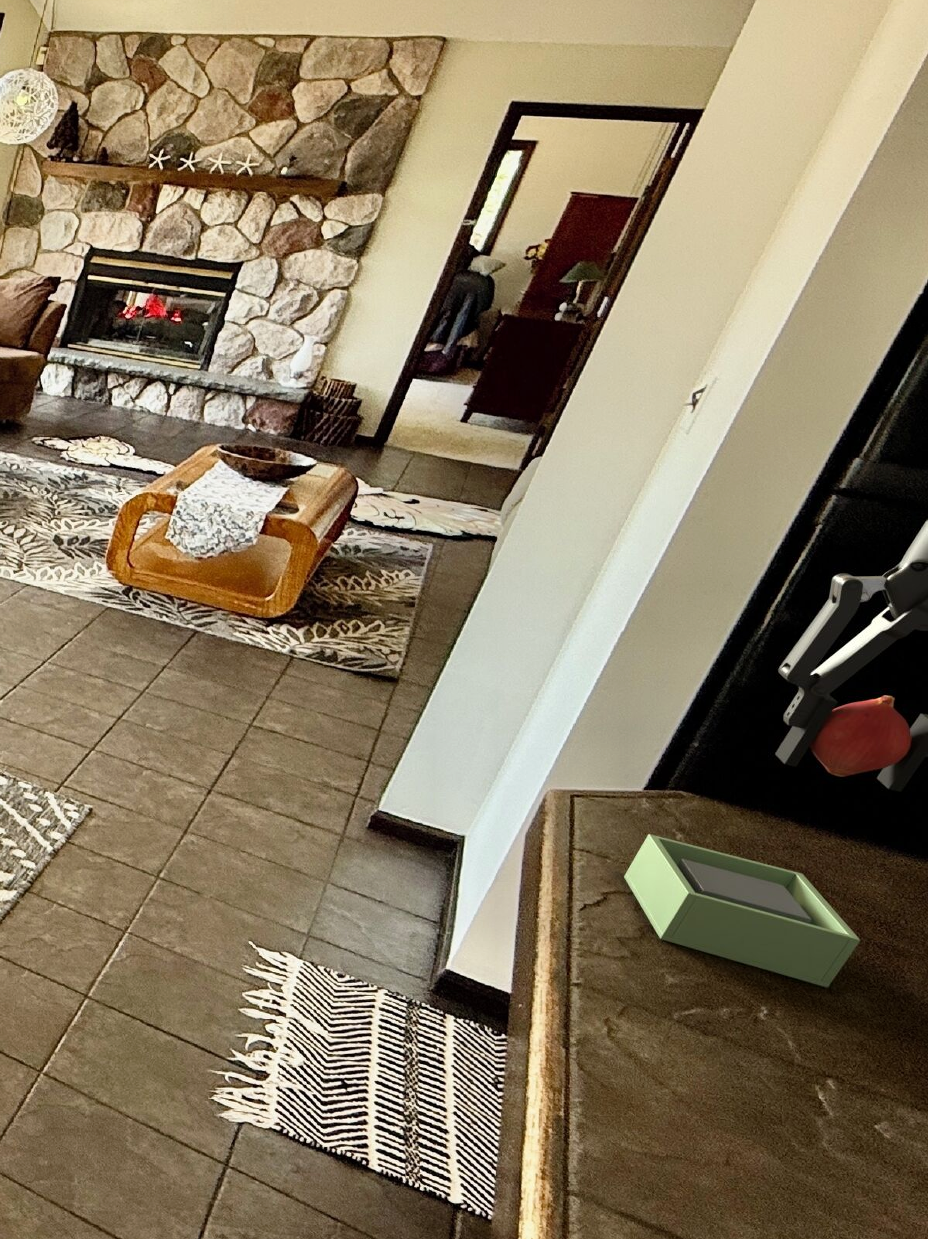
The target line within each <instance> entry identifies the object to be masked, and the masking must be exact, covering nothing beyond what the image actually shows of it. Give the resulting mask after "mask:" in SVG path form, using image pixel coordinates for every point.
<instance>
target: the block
mask: <svg viewBox="0 0 928 1239" xmlns="http://www.w3.org/2000/svg"><path fill="white" fill-rule="evenodd" d="M677 867H678V868H679V870H680V871H681V873H682V874H683V876H684V877H685V878H686V880H687V881H688V883H689V884H690V886H691V887H692V889H693V890H694V892H695V893H698V894H702V895H705V896H709V897H713V898H716V899H720V900H724V901H727V902H731V903H735V904H738V905H742V906H746V907H749V908H753V909H757V910H760V911H764V912H767V913H771V914H775V915H778V916H782V917H786V918H789V919H793V920H797V921H800V922H804V923H808V924H809V923H810V922H811V918H810V917H809V916H808V915H807V914H806V912H805V911H804V910H803V909H802V908H801V906H800V905H799V904H798V903H797V901H796V900H795V899H794V898H793V897H792V895H791V894H790V893H789V892H788V891H787V889H786V888H785V887H784V886H783V885H780V884H776V883H773V882H769V881H765V880H761V879H757V878H754V877H750V876H746V875H742V874H739V873H735V872H731V871H727V870H723V869H720V868H716V867H712V866H708V865H704V864H701V863H697V862H693V861H689V860H686V859H681V860H680V862H679V864H678V865H677Z"/></svg>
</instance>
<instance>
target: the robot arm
mask: <svg viewBox="0 0 928 1239" xmlns="http://www.w3.org/2000/svg"><path fill="white" fill-rule="evenodd" d="M879 591H882V593H883V596H884V598H885V601H886V604H887V607H886V608H885V609H884V610H882V611H881V612H880V613H879V614H877V615H876V616H875V617H874V618H873V619H872V620H871V623H870V624H869V625H868V626H867V627H865V628H864V629H863V630H862V631H861V632H860V633H858V634H857V635H856V636H854V637H853V638H852V639H851V640H850V641H848V642H847V643H846V644H845V645H844V646H843V647H841V648H840V649H838V650H837V651H836V652H835V653H834V654H832V655H831V656H830V657H829V658H828V659H826V660H825V661H824V662H823V663H822V664H820V663H821V661H822V659H823V658H824V657H825V655H826V654H827V653H828V651H829V650H830V649H831V647H832V646H833V644H834V643H835V641H836V640H837V639H838V638H839V636H840V635H841V633H842V632H843V631H844V630H845V628H846V627H847V626H848V624H849V623H850V622H851V620H852V618H853V617H854V616H855V614H856V613H857V611H858V609H859V607H860V604H861V603H864V602H868V601H869V600H871V598H872V597H873V595H874V594H876V593H877V592H879ZM914 630H916V631H922V632H923V631H924V632H926V631H927V632H928V519H926V521H924V524H923V525H922V526H921V529H920V530H919V531H918V533H917V534H916V536H915V538H914V540H913V541H912V543H911V544H910V546H909V547H908V549H907V550H906V552H905V554H904V555H903V557H902V559H901V561H900V562H899V563H898V564H897V565H896V566H895V567H893V568H891V569H889V570H888V571H886V572H885V573H884V574H883V575H878V576H877V575H875V576H853V575H851V574H849V573H846V572H844V573H843V572H841V573H838V574H836V575H834V576H833V577H832V579H831V583H830V589H829V596H828V599H827V601H826V602H825V603H824V604H823V606H822V608H821V609H820V610H819V612H818V613H817V615H816V616H815V617H814V619H813V620H812V622H810V624H809V626H808V627H807V628H806V629H805V631H804V633H802V635H801V637H800V638H799V640H798V641H797V642H796V643H795V645H794V646H793V648H792V649H791V651H789V653H788V655H787V656H786V657H785V659H784V660H783V661H782V663H781V665H780V666H779V668H778V670H777V671H778V674H780V675H781V676H782V678H784V679H785V680H786V681H787V682H788V683H790V684H792V685H794V686H797V687H798V691H797V693H796V695H795V696H794V697H793V699H792V701H791V703H790V704H789V705H788V707H787V709H786V710H785V712H784V713H783V722H784V723H785V724H786V725H787V726H789V727H791V728H790V730H789V731H788V733H787V734H786V736H785V738H784V739H783V741H781V743H780V745H779V747H778V749H777V750H776V752H775V753H774V755H775V756H776V757H777V758H778V759H779V760H780V761H781V762H782V763H783V764H784V765H787V766H791V767H796V768H797V767H798V765H799V763H800V762H801V760H802V759H803V757H804V755H805V754H806V752H807V751H808V749H810V745H811V743H812V741H813V740H814V738H815V737H816V735H817V734H818V732H819V731H820V729H821V728H822V726H823V725H824V723H825V721H826V720H827V718H828V717H829V715H830V714H831V712H832V711H833V710H834V709H836V706H837V704H838V701H837V700H836V699H835V698H834V697H832V696H831V695H830V694H831V693H832V692H833V691H835V690H836V689H838V688H839V687H840V686H842V685H843V684H844V683H845V682H846V681H847V680H849V679H850V678H851V677H852V676H854V675H855V674H857V672H859V671H860V670H861V669H863V668H864V667H865V666H866V665H867V664H869V663H871V661H873V660H874V659H876V657H877V656H879V655H880V654H881V653H883V652H884V651H885V650H887V648H889V647H890V646H891V645H893V644H894V643H895V642H897V640H900V639H902V638H906V637H907V636H908V635H909V634H911V633H912V632H913V631H914ZM819 664H820V665H819ZM818 665H819V666H818ZM817 666H818V667H817ZM816 667H817V668H816ZM910 733H911V746H910V748H909V750H908V752H907V754H906V755H905V756H904V757H903V758H902V759H901V760H900V761H899V762H897V763H895V764H893V765H890V766H888V767H886V768H882V769H881V771H880V772H879V774H878V775H877V777H876V779H877V780H878V781H879V782H880V783H881V784H882V785H883V786H884V787H886V788H887V789H888V790H890V791H894V792H899V793H902V791H903V790H904V788H905V787H906V785H907V784H908V782H909V781H910V780H911V778H912V777H913V775H914V774H915V773H916V771H917V769H918V768H919V767H920V765H921V764H922V762H923V761H924V759H926V758H928V714H926V713H920V714H919V716H918V717H917V718H916V720H915V721H914V723H913V724H912V725H911V727H910Z"/></svg>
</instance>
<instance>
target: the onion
mask: <svg viewBox="0 0 928 1239" xmlns="http://www.w3.org/2000/svg"><path fill="white" fill-rule="evenodd" d="M895 699H896V698H895V697H893V696H892V695H882V696H881V697H877V698H874V699H873V698H872V699H867V700H862V701H855V702H851V703H847V704H844V705H841V706H838V707H835V708H834V709H833V711H832V712H831V714H830V715H829V717H828V718H827V720H826V721H825V723H824V725H823V726H822V728H821V729H820V731H819V732H818V734H817V735H816V737H815V738H814V740H813V741H812V743H811V745H810V746H809V749H810V750H811V752H812V753H813V755H814V757H815V758H816V759H817V760H818V761H819V762H820V763H821V764H822V766H823V767H824V768H825V770H826V771H827V772H828V773H829V774H831V775H834V776H836V777H848V776H852V775H856V774H861V773H867V772H871V771H876V770H882V769H883V768H886V767H888V766H890V765H893V764H895V763H897V762H899V761H900V760H901V759H902V758H903V757H904V756H905V755H906V754H907V752H908V750H909V748H910V746H911V733H910V729H911V727H910V726H909V723H908V722H907V720H906V719H905V718H904V717H903V716H902V714H900V713H899V712H898V710H896V709H895V708H894V705H895Z"/></svg>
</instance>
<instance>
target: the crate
mask: <svg viewBox="0 0 928 1239" xmlns="http://www.w3.org/2000/svg"><path fill="white" fill-rule="evenodd" d="M681 859H686V860H689V861H693V862H697V863H701V864H704V865H708V866H712V867H716V868H720V869H723V870H727V871H731V872H735V873H739V874H742V875H746V876H750V877H754V878H757V879H761V880H765V881H769V882H773V883H776V884H780V885H783V886H784V887H785V888H786V889H787V891H788V892H789V893H790V894H791V895H792V897H793V898H794V899H795V900H796V901H797V903H798V904H799V905H800V906H801V908H802V909H803V910H804V911H805V912H806V914H807V915H808V916H809V917H810V918H811V922H810V923H809V924H808V923H804V922H800V921H797V920H793V919H789V918H786V917H782V916H778V915H775V914H771V913H767V912H764V911H760V910H757V909H753V908H749V907H746V906H742V905H738V904H735V903H731V902H727V901H724V900H720V899H716V898H713V897H709V896H705V895H702V894H698V893H695V892H694V890H693V889H692V887H691V886H690V884H689V883H688V881H687V880H686V878H685V877H684V876H683V874H682V873H681V871H680V870H679V868H678V867H677V865H678V864H679V862H680V860H681ZM623 878H624V880H625V881H626V884H628V887H629V888H630V890H631V891H632V893H633V895H634V896H635V898H636V900H637V902H638V903H639V905H640V907H641V909H642V911H643V912H644V913H645V915H646V917H647V919H648V921H649V922H650V924H651V926H652V927H653V930H654V931H655V932H656V934H657V936H658V938H659V939H660V940H661V941H665V942H669V943H672V944H676V945H679V946H683V947H686V948H690V949H694V950H695V951H701V952H704V953H707V954H709V955H713V956H717V957H720V958H724V959H728V960H730V961H734V962H737V963H741V964H745V965H748V966H751V967H755V968H758V969H762V970H765V971H769V972H771V973H775V974H779V975H782V976H786V977H788V978H789V977H790V978H792V979H797V980H800V981H803V982H806V983H810V984H812V985H813V984H814V985H817V986H820V987H824V988H828V989H829V987H830V985H831V983H832V982H833V981H834V979H835V978H836V976H837V975H838V974H839V972H840V971H841V969H842V968H843V966H844V965H845V964H846V962H847V961H848V959H849V958H850V957H851V955H852V953H853V952H854V950H855V949H856V948H857V946H858V945H859V943H860V942H861V939H860V938H859V937H858V936H857V934H856V933H855V932H854V931H853V930H852V929H851V927H850V926H849V925H848V924H847V923H846V922H845V921H844V920H843V918H842V917H841V916H840V915H839V914H838V912H836V911H835V909H834V908H833V907H832V906H831V905H830V903H828V901H827V900H826V899H825V898H824V897H823V895H822V894H821V893H820V892H819V891H818V890H817V888H815V887H814V885H813V884H812V883H811V882H810V881H809V880H808V878H807V877H806V876H805V875H804V874H803V873H801V872H797V871H793V870H791V869H786V868H782V867H778V866H775V865H770V864H766V863H764V862H763V863H762V862H758V861H755V860H751V859H748V858H743V857H740V856H735V855H732V854H728V853H724V852H721V851H716V850H713V849H708V848H706V847H701V846H697V845H694V844H689V843H685V842H682V841H677V840H674V839H670V838H667V837H663V836H658V835H654V834H650V833H648V834H647V836H646V838H645V840H644V841H643V843H642V845H641V847H640V848H639V850H638V852H637V853H636V855H635V857H634V859H633V860H632V862H631V864H630V865H629V867H628V869H627V871H626V873H625V874H624V875H623Z"/></svg>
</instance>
